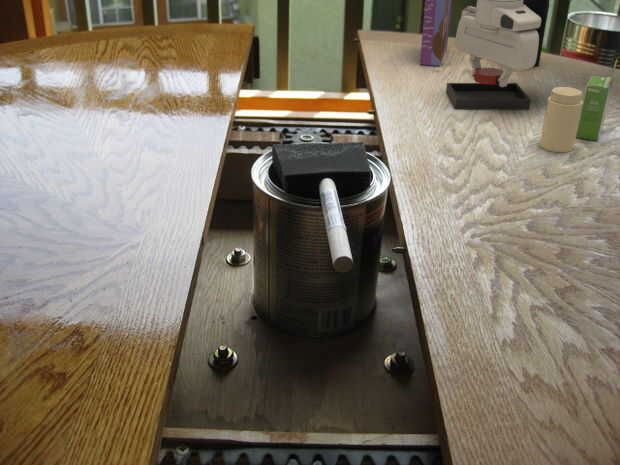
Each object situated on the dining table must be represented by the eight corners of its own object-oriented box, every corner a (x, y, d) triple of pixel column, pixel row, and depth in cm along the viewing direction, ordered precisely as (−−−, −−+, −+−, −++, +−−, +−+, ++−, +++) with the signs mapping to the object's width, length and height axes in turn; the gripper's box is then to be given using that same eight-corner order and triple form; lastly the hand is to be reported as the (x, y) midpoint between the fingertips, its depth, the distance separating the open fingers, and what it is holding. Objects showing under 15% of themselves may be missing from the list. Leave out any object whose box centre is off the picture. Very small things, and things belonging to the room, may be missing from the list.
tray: (515, 92, 144) (517, 83, 143) (529, 109, 134) (531, 99, 133) (445, 92, 144) (446, 82, 143) (454, 109, 135) (455, 99, 134)
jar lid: (477, 85, 135) (478, 76, 134) (471, 76, 140) (472, 67, 139) (507, 84, 134) (508, 76, 133) (500, 75, 140) (501, 67, 139)
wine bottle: (540, 61, 166) (563, -69, 151) (537, 68, 161) (560, -67, 146) (514, 59, 168) (534, -70, 153) (510, 65, 163) (530, -68, 148)
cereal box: (439, 66, 162) (449, -38, 150) (419, 65, 163) (428, -39, 151) (446, 49, 177) (456, -48, 165) (428, 48, 178) (437, -48, 166)
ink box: (580, 125, 126) (595, 55, 119) (602, 129, 124) (618, 58, 118) (574, 137, 121) (590, 65, 114) (597, 141, 119) (614, 68, 112)
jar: (567, 140, 120) (578, 85, 115) (578, 152, 115) (590, 96, 110) (535, 140, 120) (544, 85, 115) (545, 152, 115) (555, 96, 110)
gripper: (451, 5, 137) (445, 71, 144) (523, 24, 121) (512, 97, 128) (475, 2, 140) (467, 67, 146) (548, 20, 124) (536, 92, 131)
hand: (489, 81), depth 137 cm, fingers closed on jar lid, 6 cm apart
